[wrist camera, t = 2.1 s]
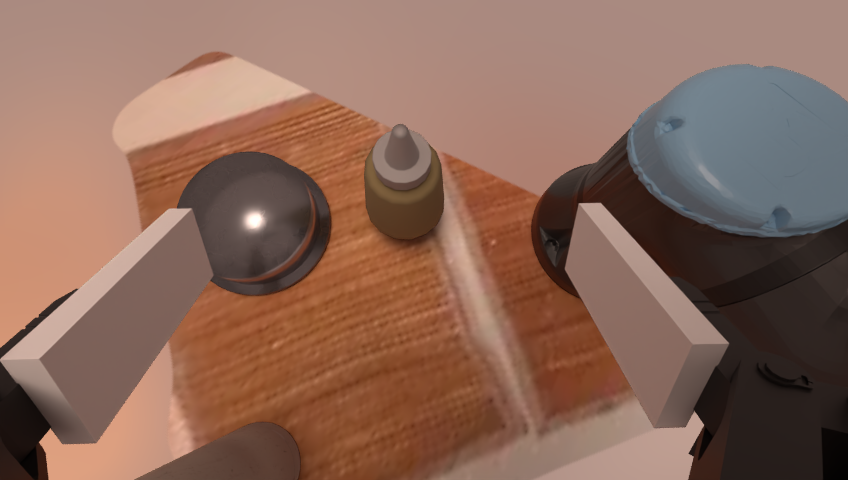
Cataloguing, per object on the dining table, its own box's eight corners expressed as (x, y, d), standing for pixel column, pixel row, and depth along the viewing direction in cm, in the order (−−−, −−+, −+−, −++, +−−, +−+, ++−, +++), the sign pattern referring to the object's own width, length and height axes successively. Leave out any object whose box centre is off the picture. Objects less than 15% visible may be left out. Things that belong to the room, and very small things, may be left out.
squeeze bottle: (399, 165, 47) (389, 60, 30) (456, 205, 46) (481, 121, 29) (354, 219, 45) (316, 141, 28) (412, 262, 44) (411, 210, 27)
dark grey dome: (356, 201, 46) (349, 184, 41) (282, 321, 43) (265, 318, 38) (243, 141, 47) (224, 118, 42) (163, 253, 44) (132, 242, 39)
